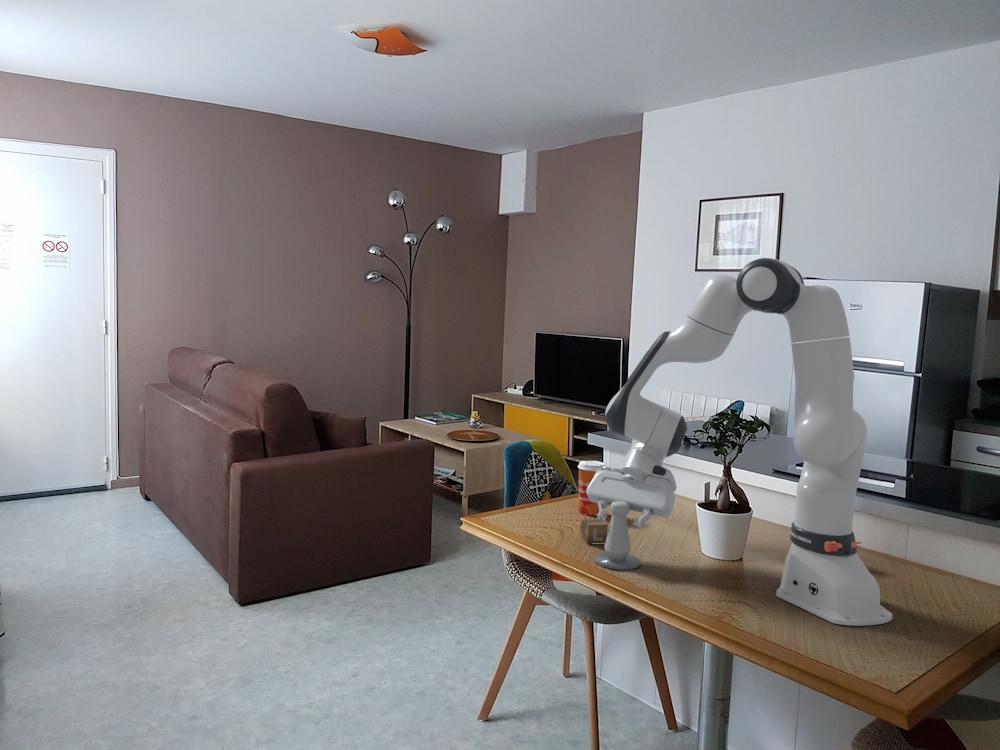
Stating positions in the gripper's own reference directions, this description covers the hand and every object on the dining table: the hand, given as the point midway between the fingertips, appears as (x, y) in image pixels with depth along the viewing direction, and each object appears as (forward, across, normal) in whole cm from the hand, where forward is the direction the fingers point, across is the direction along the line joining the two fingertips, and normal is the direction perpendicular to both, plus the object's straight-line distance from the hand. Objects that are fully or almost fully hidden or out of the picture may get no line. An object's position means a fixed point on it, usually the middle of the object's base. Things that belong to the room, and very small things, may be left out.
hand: (618, 523), depth 170 cm
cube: (-1, -11, +14) cm, 18 cm away
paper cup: (-16, -23, +29) cm, 41 cm away
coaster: (+6, 0, +7) cm, 9 cm away
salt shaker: (+6, 0, +7) cm, 9 cm away
